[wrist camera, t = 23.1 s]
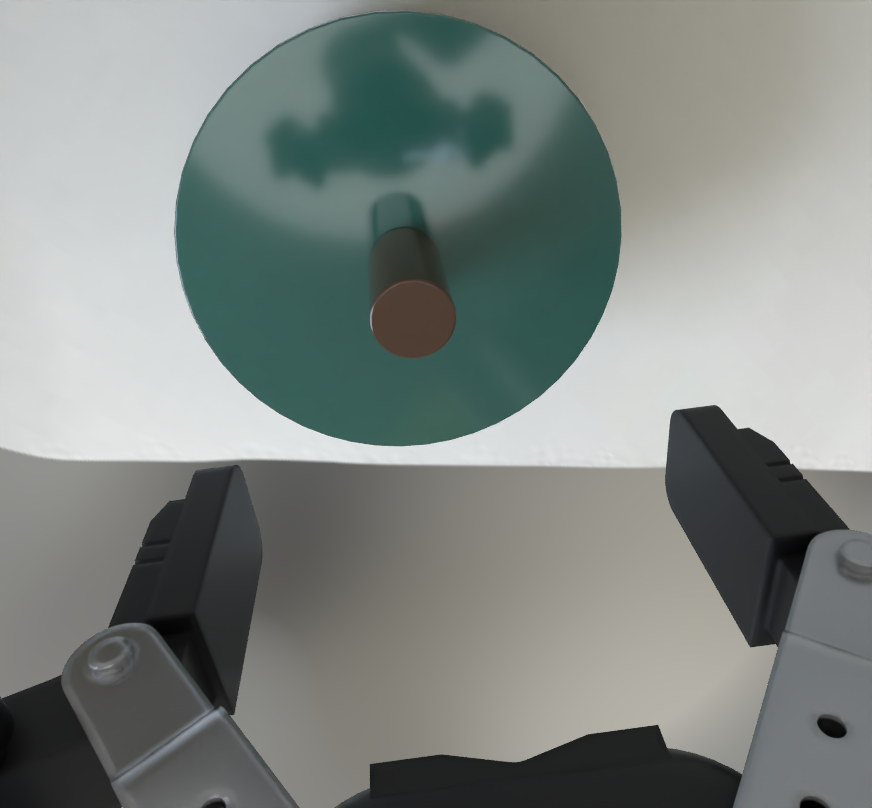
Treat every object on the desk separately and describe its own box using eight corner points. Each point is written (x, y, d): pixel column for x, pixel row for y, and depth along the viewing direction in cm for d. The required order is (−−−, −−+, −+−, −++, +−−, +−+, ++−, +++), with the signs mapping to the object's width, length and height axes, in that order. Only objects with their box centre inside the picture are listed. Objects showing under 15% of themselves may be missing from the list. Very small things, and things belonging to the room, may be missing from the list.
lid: (620, -17, 23) (701, -16, 17) (605, 406, 31) (656, 495, 25) (120, 37, 22) (45, 56, 17) (239, 452, 30) (213, 553, 25)
